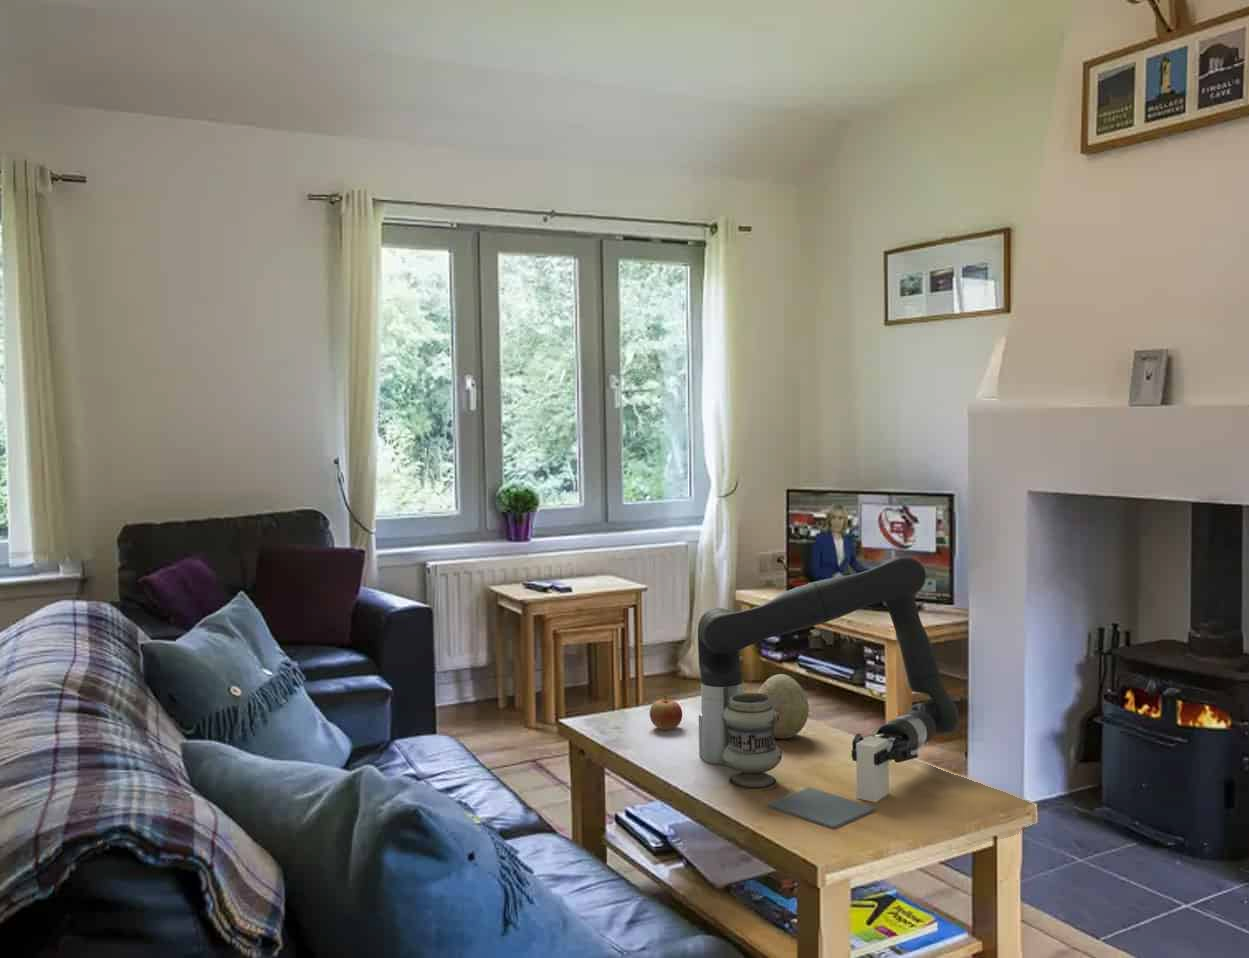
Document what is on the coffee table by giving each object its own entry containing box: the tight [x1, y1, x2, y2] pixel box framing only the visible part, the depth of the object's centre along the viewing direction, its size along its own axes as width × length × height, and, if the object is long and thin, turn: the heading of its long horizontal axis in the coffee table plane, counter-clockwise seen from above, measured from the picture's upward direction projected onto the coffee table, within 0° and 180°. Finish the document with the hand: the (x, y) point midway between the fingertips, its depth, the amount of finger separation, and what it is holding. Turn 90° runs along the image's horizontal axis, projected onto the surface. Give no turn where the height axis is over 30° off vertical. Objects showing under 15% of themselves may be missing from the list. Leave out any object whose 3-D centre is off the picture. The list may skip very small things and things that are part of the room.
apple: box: [649, 695, 683, 730], centre depth 258 cm, size 8×8×8 cm
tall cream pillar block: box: [855, 735, 890, 803], centre depth 208 cm, size 4×6×11 cm, turn 141°
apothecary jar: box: [722, 692, 783, 792], centre depth 218 cm, size 12×12×18 cm
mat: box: [766, 786, 877, 829], centre depth 203 cm, size 16×13×1 cm
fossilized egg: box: [757, 673, 810, 740], centre depth 248 cm, size 13×13×15 cm
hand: (865, 757), depth 206 cm, fingers closed on tall cream pillar block, 4 cm apart
